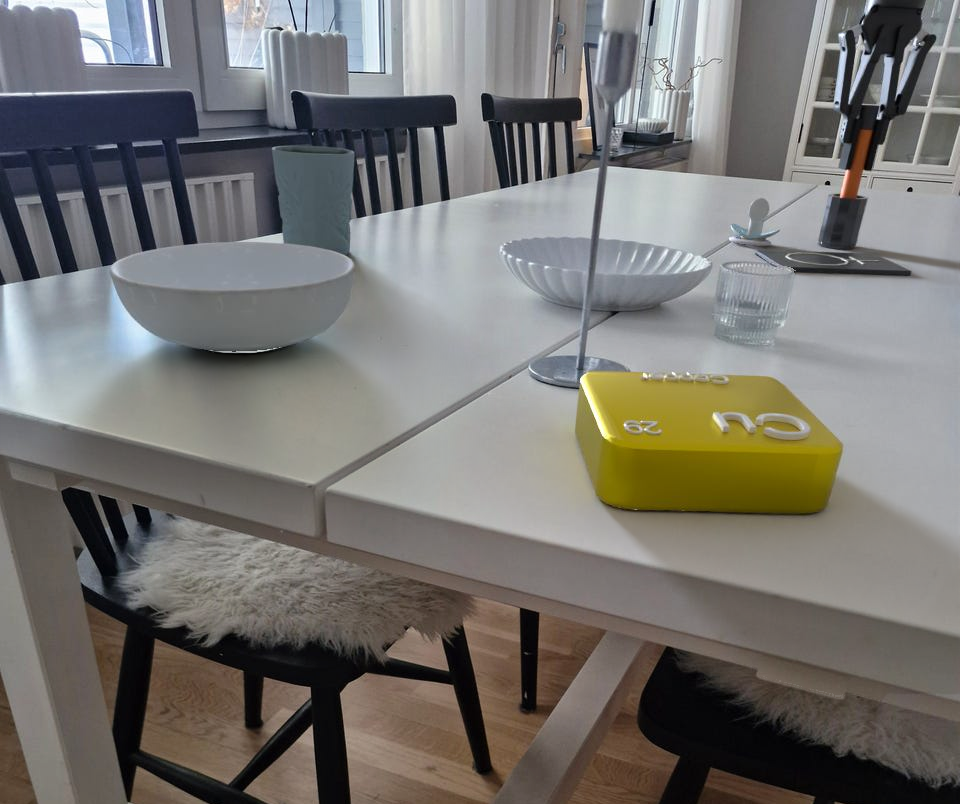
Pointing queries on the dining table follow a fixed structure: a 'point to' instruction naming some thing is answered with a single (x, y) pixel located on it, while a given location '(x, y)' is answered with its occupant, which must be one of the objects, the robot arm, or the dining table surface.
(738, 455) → the element tile
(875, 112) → the marker
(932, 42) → the robot arm
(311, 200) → the green vase
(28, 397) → the dining table surface
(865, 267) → the slate board
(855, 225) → the pen pot
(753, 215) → the pacifier
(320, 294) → the serving bowl
